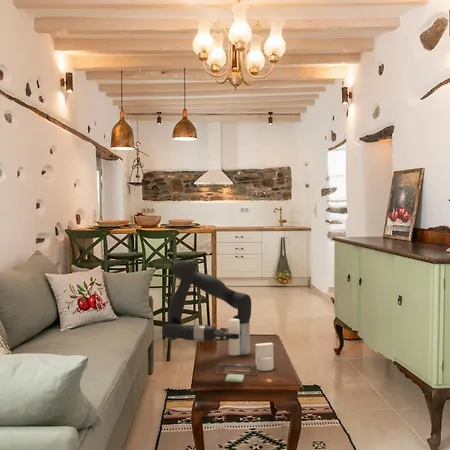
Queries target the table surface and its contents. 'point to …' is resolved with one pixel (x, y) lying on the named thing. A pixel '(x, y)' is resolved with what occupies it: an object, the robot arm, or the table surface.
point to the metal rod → (236, 365)
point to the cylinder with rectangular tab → (264, 356)
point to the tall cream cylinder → (234, 343)
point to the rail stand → (250, 372)
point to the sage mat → (234, 378)
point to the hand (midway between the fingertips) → (239, 334)
